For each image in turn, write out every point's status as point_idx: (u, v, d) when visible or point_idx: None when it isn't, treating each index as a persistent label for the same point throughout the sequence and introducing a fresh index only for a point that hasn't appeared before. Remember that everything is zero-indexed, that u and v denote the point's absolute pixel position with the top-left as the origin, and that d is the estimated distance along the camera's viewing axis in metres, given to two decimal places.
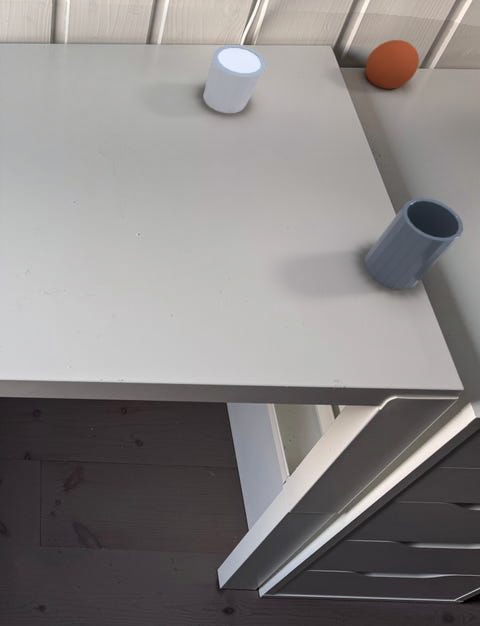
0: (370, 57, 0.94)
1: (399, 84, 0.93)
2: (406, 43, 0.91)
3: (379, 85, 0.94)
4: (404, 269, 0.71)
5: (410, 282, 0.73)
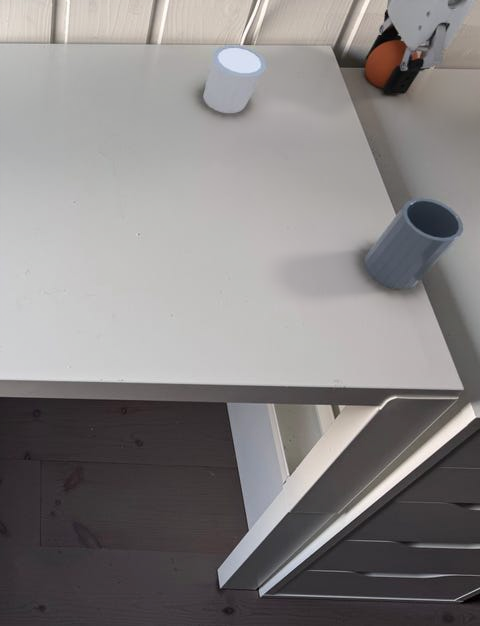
0: (370, 57, 0.94)
1: None
2: None
3: (379, 85, 0.94)
4: (404, 269, 0.71)
5: (410, 282, 0.73)
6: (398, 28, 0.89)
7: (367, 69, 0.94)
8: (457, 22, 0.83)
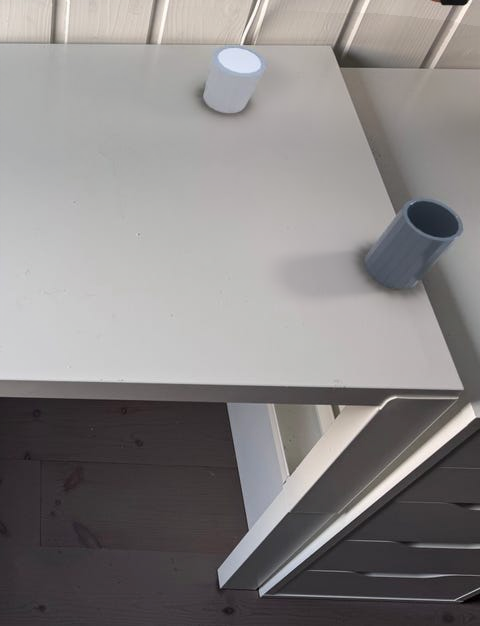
0: None
1: None
2: None
3: None
4: (404, 269, 0.71)
5: (410, 282, 0.73)
6: None
7: None
8: None
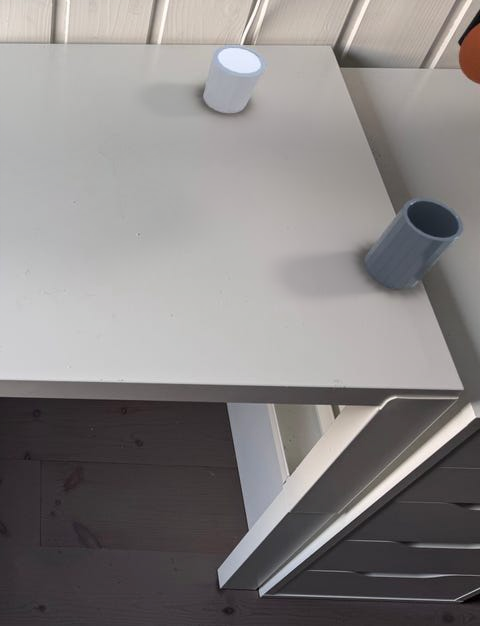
0: (468, 39, 0.64)
1: None
2: None
3: None
4: (404, 269, 0.71)
5: (410, 282, 0.73)
6: None
7: (463, 56, 0.65)
8: None
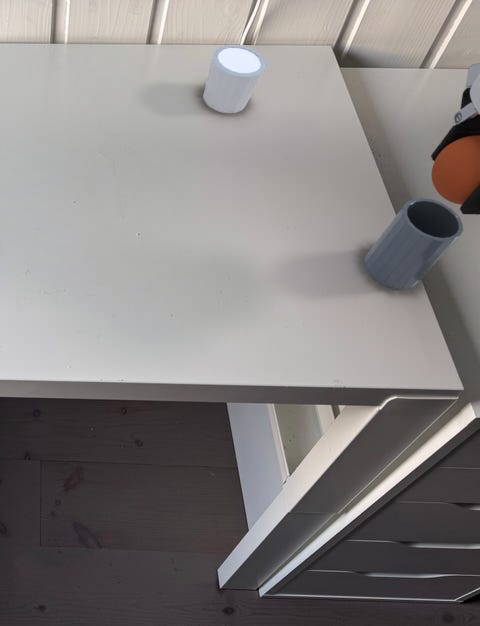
0: (440, 160, 0.63)
1: None
2: None
3: (453, 200, 0.64)
4: (404, 269, 0.71)
5: (410, 282, 0.73)
6: None
7: (436, 176, 0.64)
8: None
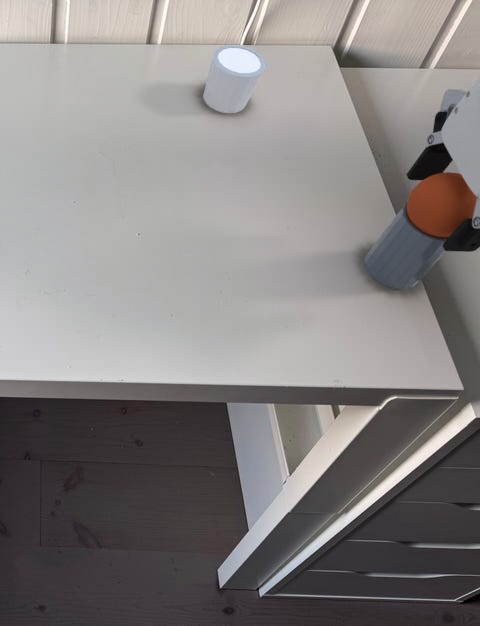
0: (415, 194, 0.67)
1: None
2: None
3: (426, 232, 0.67)
4: (404, 269, 0.71)
5: (410, 282, 0.73)
6: (458, 163, 0.62)
7: (410, 209, 0.68)
8: None
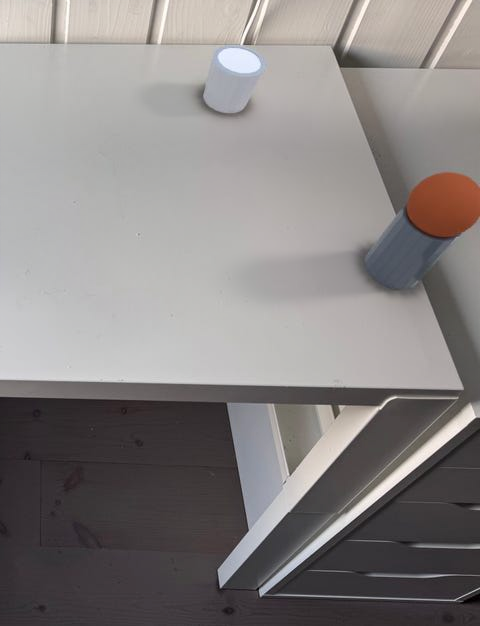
0: (415, 194, 0.67)
1: (455, 234, 0.66)
2: (467, 180, 0.65)
3: (426, 232, 0.67)
4: (404, 269, 0.71)
5: (410, 282, 0.73)
6: None
7: (410, 209, 0.68)
8: None
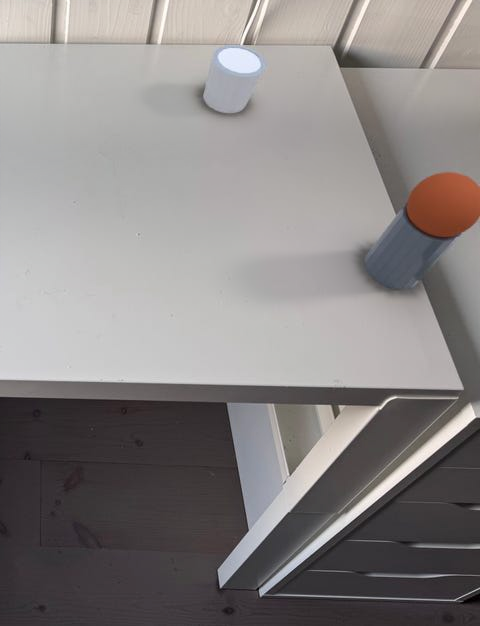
0: (415, 194, 0.67)
1: (455, 234, 0.66)
2: (467, 180, 0.65)
3: (426, 232, 0.67)
4: (404, 269, 0.71)
5: (410, 282, 0.73)
6: None
7: (410, 209, 0.68)
8: None
